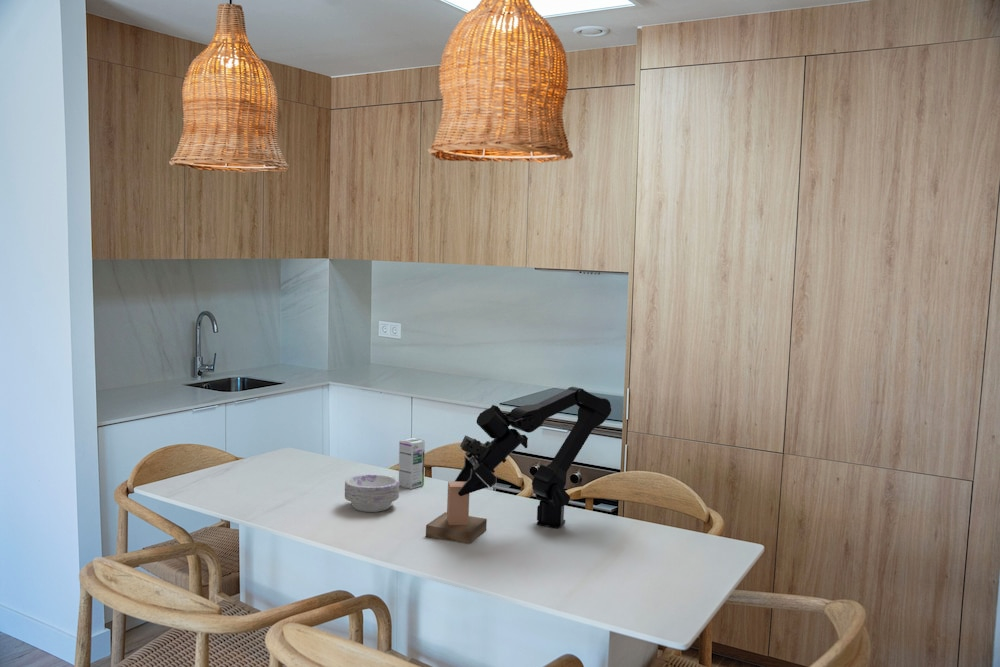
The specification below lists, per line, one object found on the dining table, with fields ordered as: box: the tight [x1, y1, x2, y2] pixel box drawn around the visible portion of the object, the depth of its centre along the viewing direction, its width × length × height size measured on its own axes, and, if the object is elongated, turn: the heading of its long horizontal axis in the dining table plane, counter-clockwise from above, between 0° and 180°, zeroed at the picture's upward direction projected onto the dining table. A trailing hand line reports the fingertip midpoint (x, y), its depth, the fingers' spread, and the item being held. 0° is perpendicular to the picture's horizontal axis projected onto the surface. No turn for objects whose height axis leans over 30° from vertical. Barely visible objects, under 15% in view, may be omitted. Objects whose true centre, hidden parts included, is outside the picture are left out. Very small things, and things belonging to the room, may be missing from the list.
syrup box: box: [398, 437, 426, 490], centre depth 253 cm, size 6×6×14 cm
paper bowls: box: [344, 474, 400, 513], centre depth 230 cm, size 15×15×8 cm
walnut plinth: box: [425, 511, 488, 545], centre depth 212 cm, size 12×12×3 cm
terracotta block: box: [446, 481, 470, 525], centre depth 211 cm, size 5×5×10 cm
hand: (456, 489), depth 211 cm, fingers open, 9 cm apart
